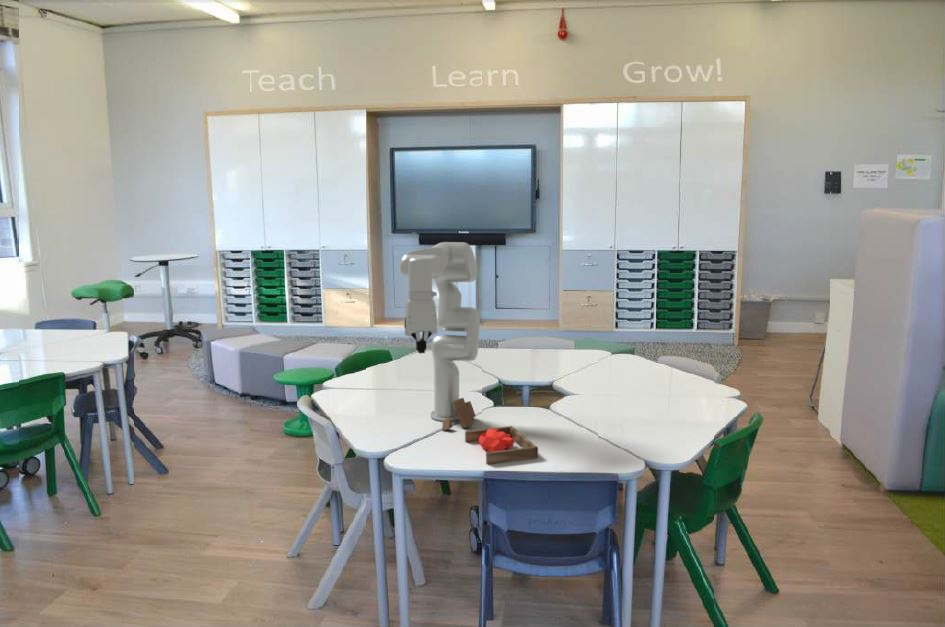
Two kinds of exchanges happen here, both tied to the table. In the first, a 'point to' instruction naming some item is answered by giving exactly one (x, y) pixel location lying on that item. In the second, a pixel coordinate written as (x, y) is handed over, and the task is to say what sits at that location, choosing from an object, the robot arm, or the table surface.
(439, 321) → the robot arm
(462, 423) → the wooden block set
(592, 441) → the table surface
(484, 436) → the animal figurine
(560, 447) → the table surface
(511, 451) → the frame
